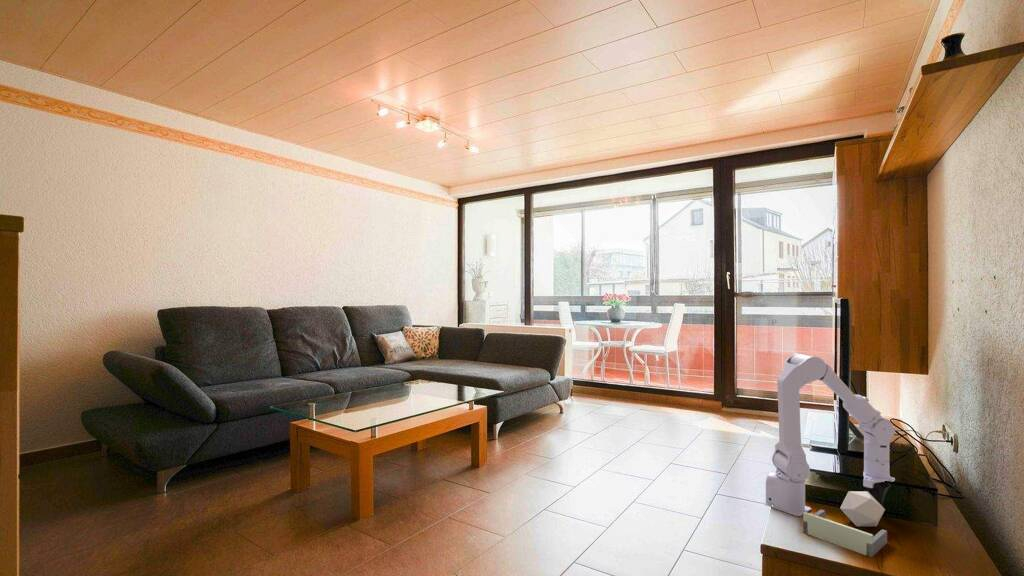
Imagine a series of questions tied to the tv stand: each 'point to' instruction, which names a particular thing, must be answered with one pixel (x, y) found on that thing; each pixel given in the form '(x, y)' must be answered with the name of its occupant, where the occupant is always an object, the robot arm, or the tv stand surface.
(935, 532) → the tv stand surface
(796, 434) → the robot arm
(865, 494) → the die
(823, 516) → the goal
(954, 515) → the tv stand surface
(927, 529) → the tv stand surface
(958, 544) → the tv stand surface
